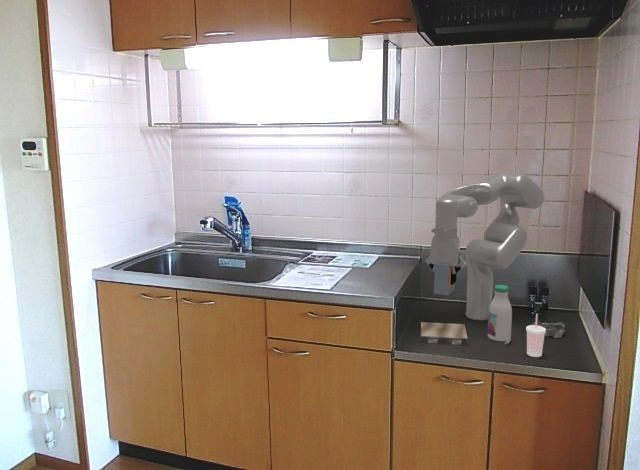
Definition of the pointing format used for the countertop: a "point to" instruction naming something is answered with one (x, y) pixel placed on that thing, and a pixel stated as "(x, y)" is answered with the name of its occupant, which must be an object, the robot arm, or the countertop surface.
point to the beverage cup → (535, 339)
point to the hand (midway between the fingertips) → (444, 282)
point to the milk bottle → (500, 315)
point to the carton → (442, 279)
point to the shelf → (444, 333)
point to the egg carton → (552, 329)
